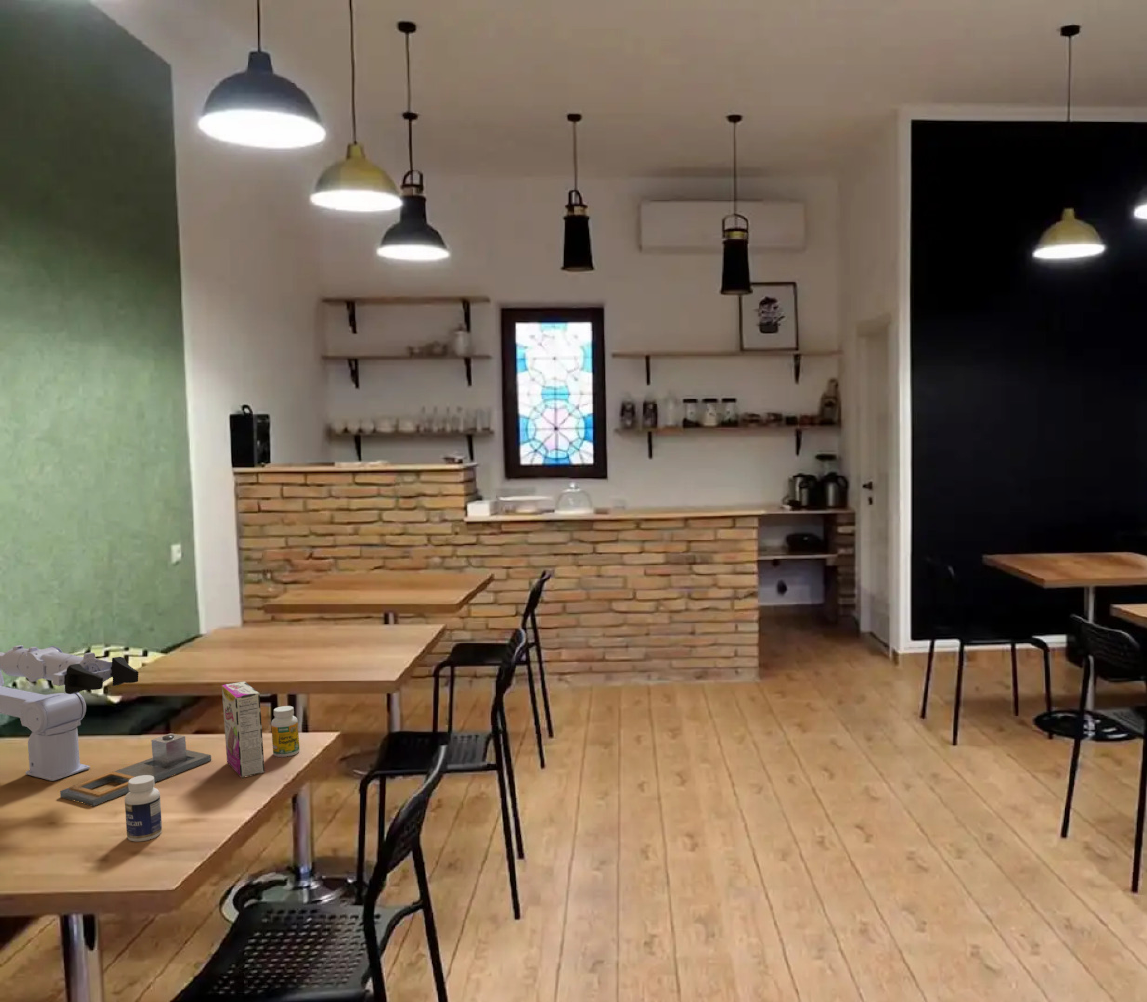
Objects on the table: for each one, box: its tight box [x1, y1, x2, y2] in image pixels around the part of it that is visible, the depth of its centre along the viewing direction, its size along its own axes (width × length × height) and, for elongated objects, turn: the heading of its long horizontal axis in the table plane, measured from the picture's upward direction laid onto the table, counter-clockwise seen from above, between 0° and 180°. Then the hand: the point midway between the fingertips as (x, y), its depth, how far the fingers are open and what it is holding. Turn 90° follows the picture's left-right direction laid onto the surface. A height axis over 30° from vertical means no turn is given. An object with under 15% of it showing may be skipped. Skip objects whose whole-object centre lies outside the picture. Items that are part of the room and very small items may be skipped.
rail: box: [59, 749, 212, 807], centre depth 185 cm, size 10×26×2 cm, turn 151°
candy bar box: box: [221, 680, 266, 778], centre depth 188 cm, size 11×5×16 cm, turn 34°
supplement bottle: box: [270, 705, 300, 758], centre depth 196 cm, size 5×5×10 cm
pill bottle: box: [124, 775, 163, 842], centre depth 157 cm, size 5×5×10 cm
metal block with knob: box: [150, 732, 187, 769], centre depth 190 cm, size 4×4×6 cm
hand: (119, 680), depth 179 cm, fingers open, 7 cm apart
